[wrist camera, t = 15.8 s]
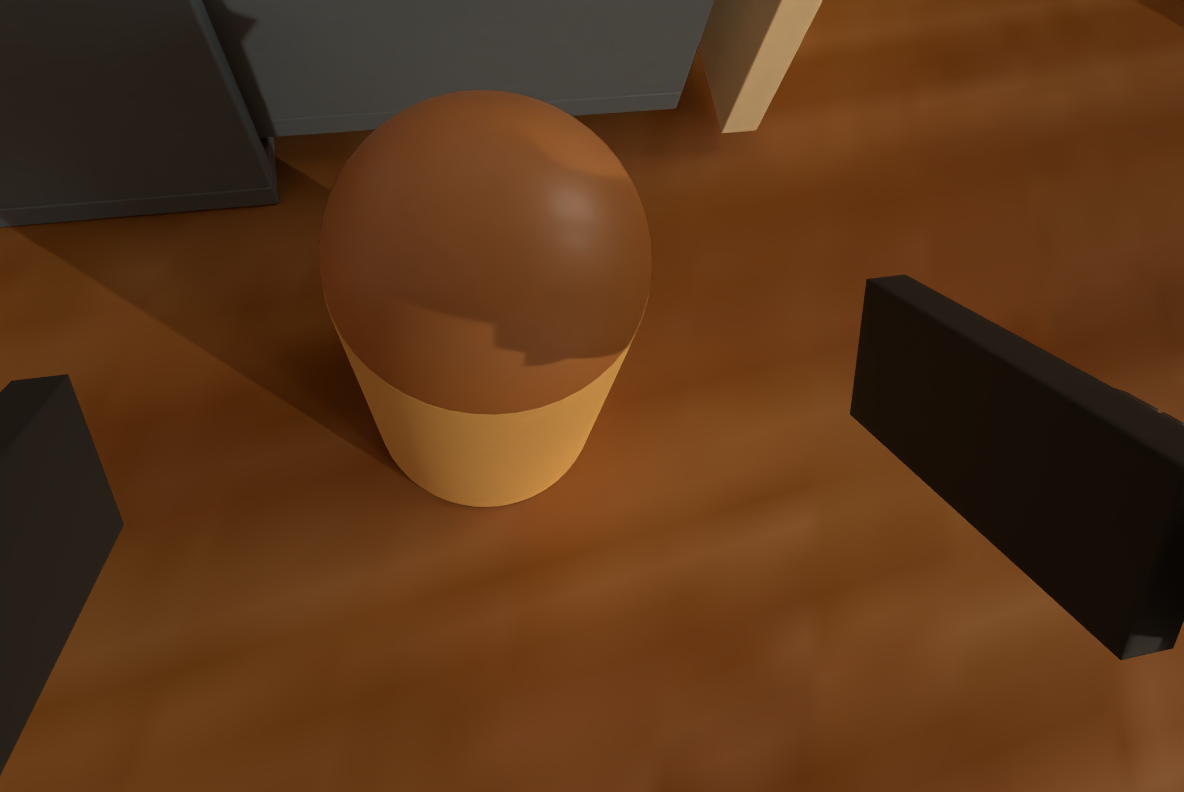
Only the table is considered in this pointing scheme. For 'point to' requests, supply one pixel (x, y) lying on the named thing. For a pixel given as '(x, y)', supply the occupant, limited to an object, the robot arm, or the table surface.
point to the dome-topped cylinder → (485, 288)
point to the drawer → (501, 55)
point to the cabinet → (122, 114)
